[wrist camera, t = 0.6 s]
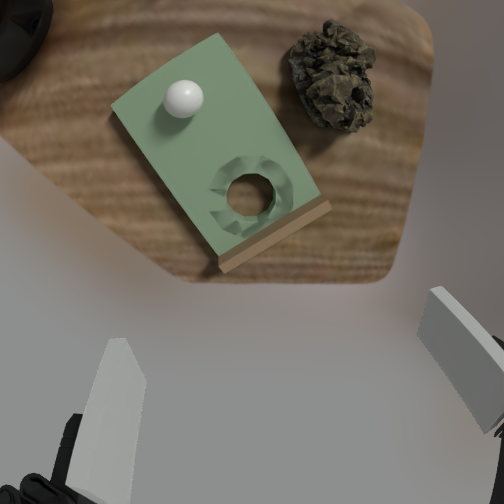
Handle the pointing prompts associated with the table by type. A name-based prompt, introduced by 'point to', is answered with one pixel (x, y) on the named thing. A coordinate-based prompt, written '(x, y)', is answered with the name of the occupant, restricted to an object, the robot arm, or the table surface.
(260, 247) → the green
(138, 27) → the table surface
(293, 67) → the rock
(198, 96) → the ball
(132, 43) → the table surface
